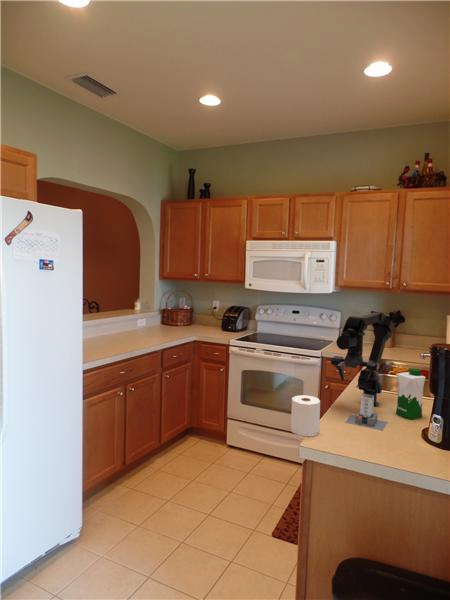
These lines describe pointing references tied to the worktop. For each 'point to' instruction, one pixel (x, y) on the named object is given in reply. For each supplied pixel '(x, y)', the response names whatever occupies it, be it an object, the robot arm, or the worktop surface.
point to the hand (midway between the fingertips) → (353, 383)
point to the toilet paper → (305, 415)
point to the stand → (367, 421)
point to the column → (367, 405)
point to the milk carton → (410, 394)
